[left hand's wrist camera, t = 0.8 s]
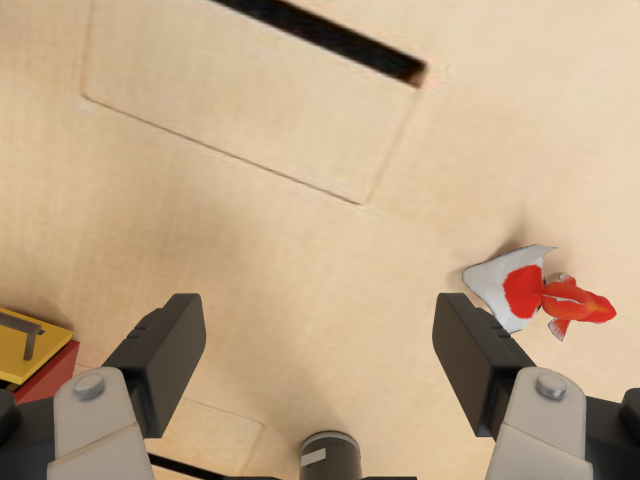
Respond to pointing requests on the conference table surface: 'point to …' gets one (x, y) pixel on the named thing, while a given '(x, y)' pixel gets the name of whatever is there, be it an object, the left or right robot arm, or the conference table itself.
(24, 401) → the cabinet
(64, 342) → the drawer
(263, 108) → the conference table surface
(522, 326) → the fish
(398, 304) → the conference table surface
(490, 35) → the conference table surface
